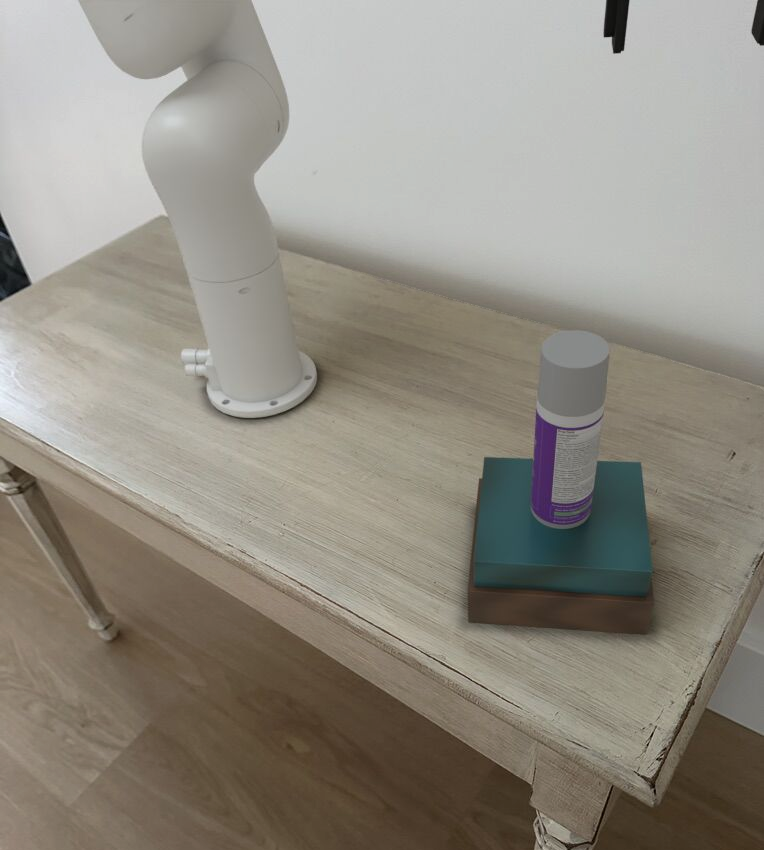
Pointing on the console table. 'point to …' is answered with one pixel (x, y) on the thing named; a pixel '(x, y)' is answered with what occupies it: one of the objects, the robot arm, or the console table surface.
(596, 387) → the container
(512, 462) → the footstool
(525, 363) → the console table surface
